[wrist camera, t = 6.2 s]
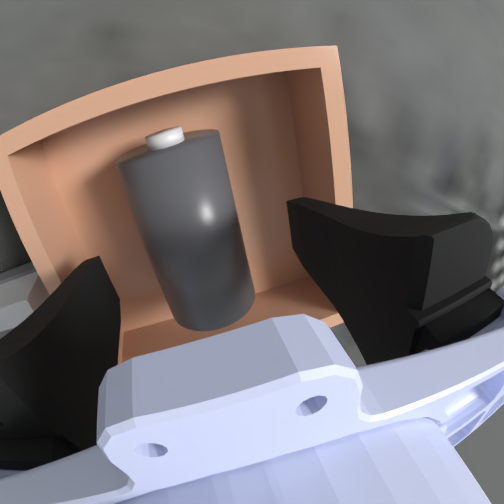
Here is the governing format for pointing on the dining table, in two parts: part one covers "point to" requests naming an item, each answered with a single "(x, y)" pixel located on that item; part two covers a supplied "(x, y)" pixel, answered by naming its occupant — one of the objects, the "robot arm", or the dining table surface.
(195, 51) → the dining table surface
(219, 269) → the cell
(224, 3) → the dining table surface
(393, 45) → the dining table surface
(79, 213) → the bin
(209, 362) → the robot arm
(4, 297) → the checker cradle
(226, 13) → the dining table surface
